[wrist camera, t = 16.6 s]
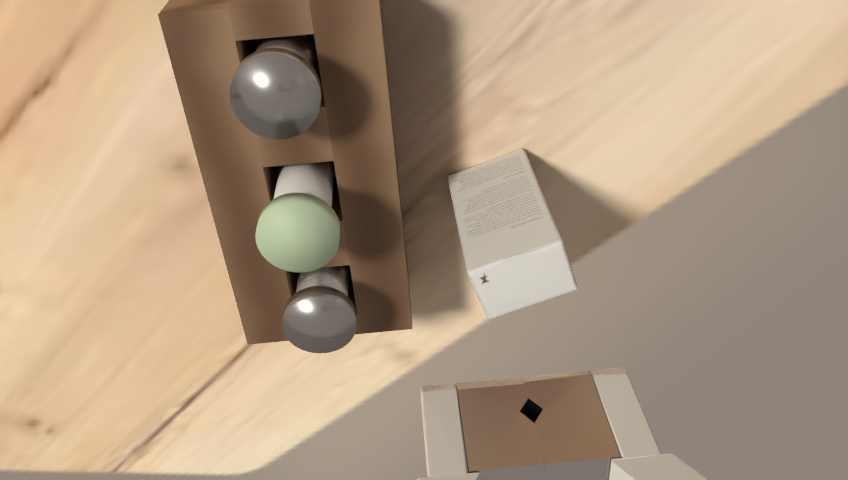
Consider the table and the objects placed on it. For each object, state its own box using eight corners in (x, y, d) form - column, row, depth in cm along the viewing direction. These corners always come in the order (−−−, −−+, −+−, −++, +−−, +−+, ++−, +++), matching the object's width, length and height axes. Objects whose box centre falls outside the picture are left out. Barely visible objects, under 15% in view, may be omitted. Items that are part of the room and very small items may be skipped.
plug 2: (353, 217, 55) (351, 293, 47) (361, 269, 57) (360, 349, 50) (289, 223, 54) (276, 301, 47) (299, 275, 57) (289, 356, 50)
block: (377, -33, 45) (378, -5, 40) (408, 279, 58) (412, 328, 53) (181, -16, 45) (158, 14, 40) (257, 293, 58) (247, 344, 53)
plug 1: (322, 0, 46) (313, 51, 38) (332, 74, 48) (326, 135, 41) (244, 7, 46) (220, 59, 38) (259, 80, 48) (239, 143, 41)
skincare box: (464, 219, 56) (486, 322, 46) (445, 174, 53) (463, 271, 43) (541, 193, 55) (580, 291, 45) (525, 145, 52) (562, 238, 43)
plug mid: (338, 128, 49) (333, 199, 41) (347, 191, 51) (344, 268, 44) (266, 135, 49) (247, 207, 41) (279, 197, 51) (264, 275, 44)
